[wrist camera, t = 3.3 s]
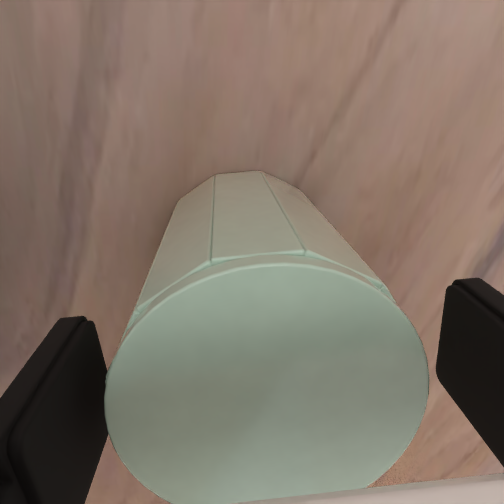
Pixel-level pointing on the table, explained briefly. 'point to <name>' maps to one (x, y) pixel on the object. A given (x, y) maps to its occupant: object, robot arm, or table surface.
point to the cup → (261, 355)
